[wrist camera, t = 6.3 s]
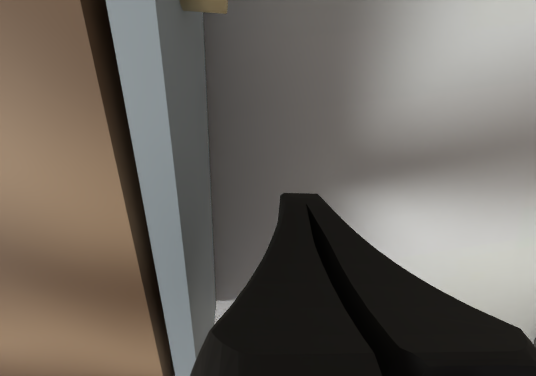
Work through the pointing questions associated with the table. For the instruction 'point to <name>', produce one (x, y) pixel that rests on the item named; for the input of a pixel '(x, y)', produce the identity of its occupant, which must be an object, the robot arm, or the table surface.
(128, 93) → the cabinet door
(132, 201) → the walnut cabinet
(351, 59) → the table surface
